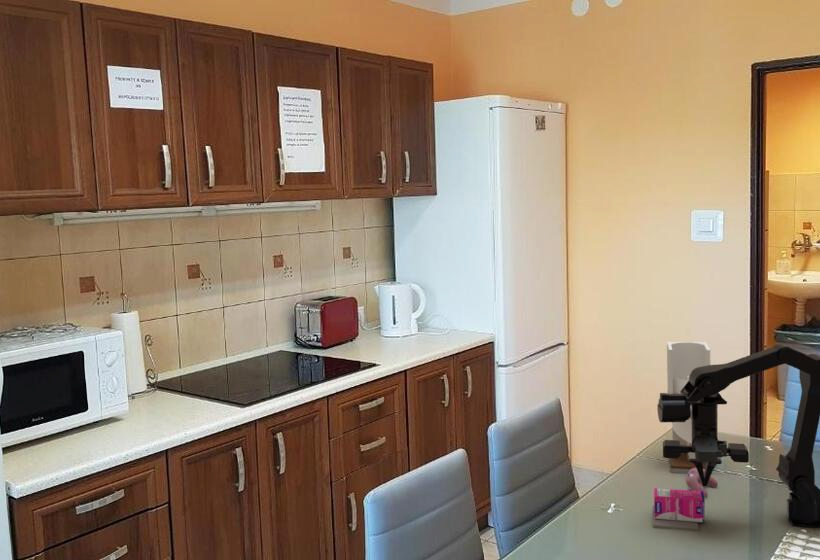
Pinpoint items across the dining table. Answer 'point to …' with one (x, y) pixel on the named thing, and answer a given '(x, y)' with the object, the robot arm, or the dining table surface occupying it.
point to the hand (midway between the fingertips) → (704, 486)
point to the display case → (678, 372)
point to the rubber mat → (674, 524)
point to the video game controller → (698, 481)
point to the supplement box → (679, 505)
